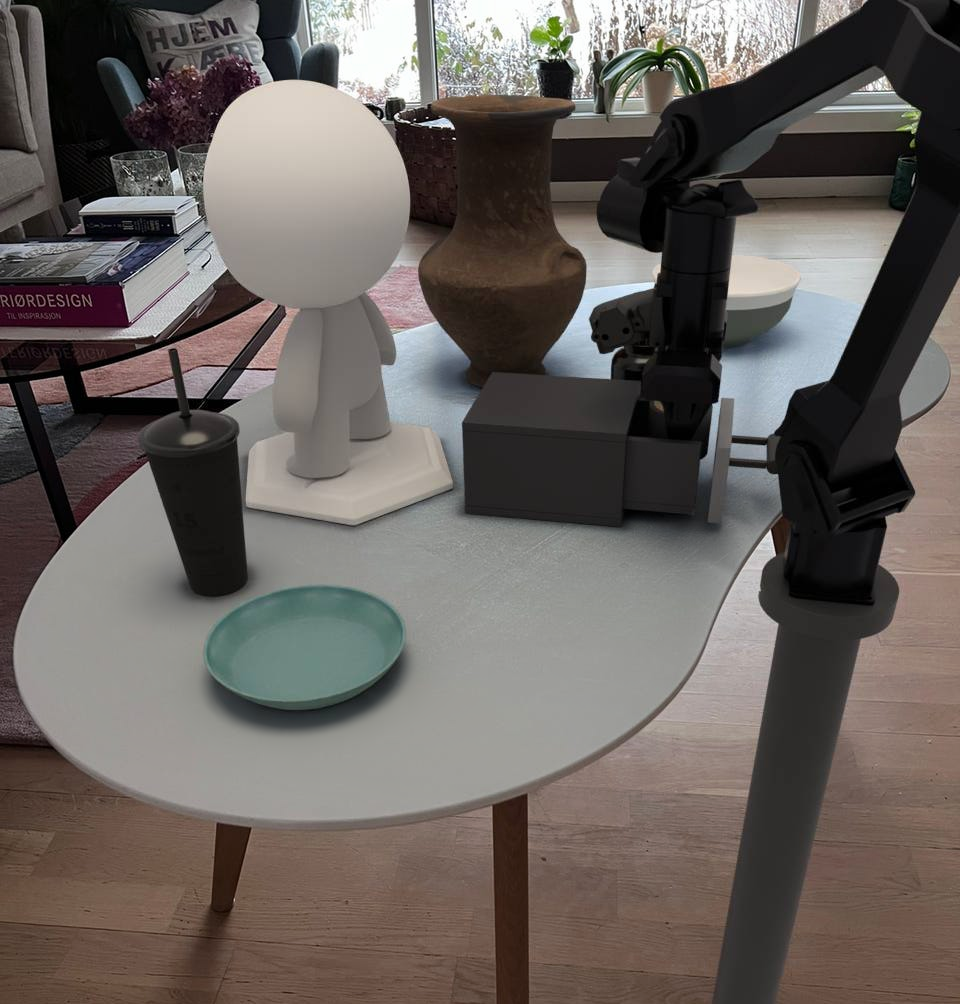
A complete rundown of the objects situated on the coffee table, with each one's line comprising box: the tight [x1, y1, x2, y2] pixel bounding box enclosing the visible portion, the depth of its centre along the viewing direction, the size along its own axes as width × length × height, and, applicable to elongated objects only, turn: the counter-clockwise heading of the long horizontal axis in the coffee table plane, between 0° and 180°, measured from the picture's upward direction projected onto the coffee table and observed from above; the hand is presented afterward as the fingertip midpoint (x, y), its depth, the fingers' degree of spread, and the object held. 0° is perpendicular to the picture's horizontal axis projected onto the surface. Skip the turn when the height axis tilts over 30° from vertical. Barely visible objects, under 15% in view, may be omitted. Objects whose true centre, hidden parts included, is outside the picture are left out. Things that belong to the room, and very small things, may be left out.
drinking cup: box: [137, 347, 249, 597], centre depth 81 cm, size 8×8×20 cm
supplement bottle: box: [610, 338, 656, 397], centre depth 105 cm, size 7×7×12 cm
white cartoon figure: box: [202, 79, 454, 526], centre depth 93 cm, size 20×23×35 cm
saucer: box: [202, 584, 407, 711], centre depth 75 cm, size 15×15×3 cm
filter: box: [647, 401, 714, 461], centre depth 93 cm, size 6×6×5 cm
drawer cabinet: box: [461, 372, 641, 528], centre depth 97 cm, size 15×13×9 cm
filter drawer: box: [623, 397, 780, 524], centre depth 94 cm, size 18×11×7 cm, turn 77°
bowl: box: [651, 253, 802, 348], centre depth 132 cm, size 19×19×8 cm
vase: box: [417, 93, 588, 388], centre depth 116 cm, size 19×19×30 cm
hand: (678, 440), depth 93 cm, fingers closed on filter, 5 cm apart
